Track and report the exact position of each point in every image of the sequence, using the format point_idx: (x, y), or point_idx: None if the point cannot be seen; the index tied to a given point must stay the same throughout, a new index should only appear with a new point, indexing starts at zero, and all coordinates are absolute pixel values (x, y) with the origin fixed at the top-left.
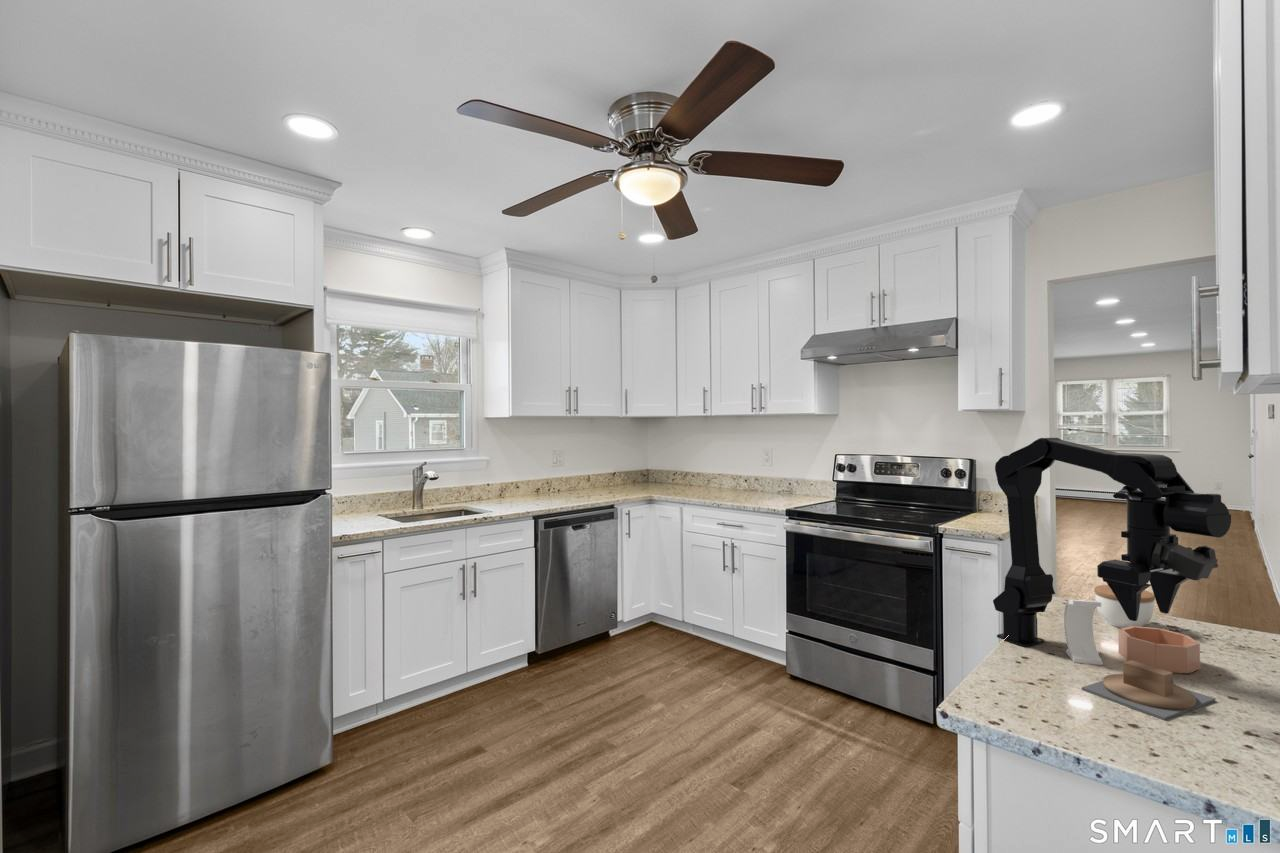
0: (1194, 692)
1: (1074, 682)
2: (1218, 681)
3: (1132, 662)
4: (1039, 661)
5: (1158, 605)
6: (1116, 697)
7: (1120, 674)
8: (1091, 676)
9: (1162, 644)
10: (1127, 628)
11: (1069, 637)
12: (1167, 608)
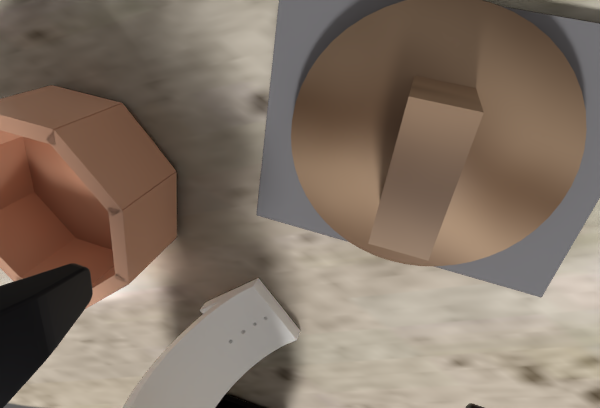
0: (281, 38)
1: (481, 313)
2: (92, 20)
3: (399, 236)
4: (373, 390)
5: (60, 337)
6: (564, 208)
7: (348, 235)
8: (381, 286)
9: (97, 193)
10: None
11: (226, 382)
12: (56, 289)
